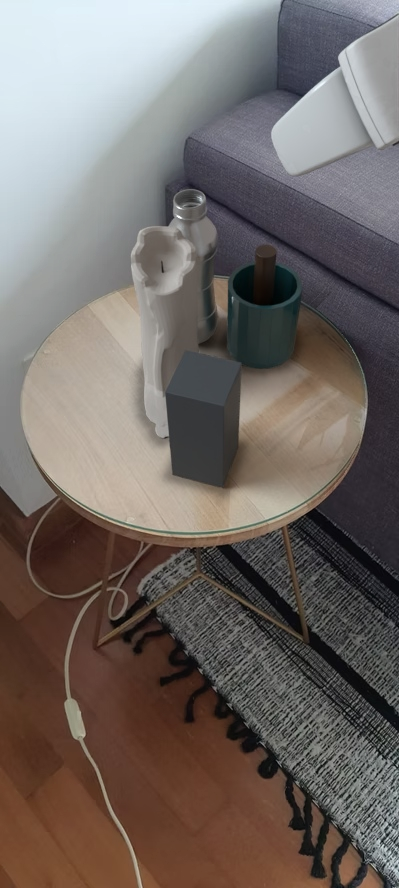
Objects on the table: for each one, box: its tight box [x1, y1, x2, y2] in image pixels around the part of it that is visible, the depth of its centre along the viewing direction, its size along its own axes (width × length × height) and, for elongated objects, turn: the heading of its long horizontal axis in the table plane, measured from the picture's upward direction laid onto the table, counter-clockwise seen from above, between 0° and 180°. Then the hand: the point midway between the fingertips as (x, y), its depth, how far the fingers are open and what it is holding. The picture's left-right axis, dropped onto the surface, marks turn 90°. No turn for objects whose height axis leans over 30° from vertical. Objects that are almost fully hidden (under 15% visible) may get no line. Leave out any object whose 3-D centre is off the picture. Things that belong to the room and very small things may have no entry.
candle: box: [130, 225, 200, 439], centre depth 77 cm, size 7×14×20 cm, turn 2°
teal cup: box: [226, 260, 303, 370], centre depth 86 cm, size 9×9×10 cm
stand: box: [165, 350, 243, 489], centre depth 73 cm, size 6×6×14 cm
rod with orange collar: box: [253, 244, 278, 306], centre depth 84 cm, size 4×4×14 cm
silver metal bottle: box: [168, 188, 220, 345], centre depth 83 cm, size 6×7×20 cm
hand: (329, 137), depth 57 cm, fingers open, 8 cm apart
